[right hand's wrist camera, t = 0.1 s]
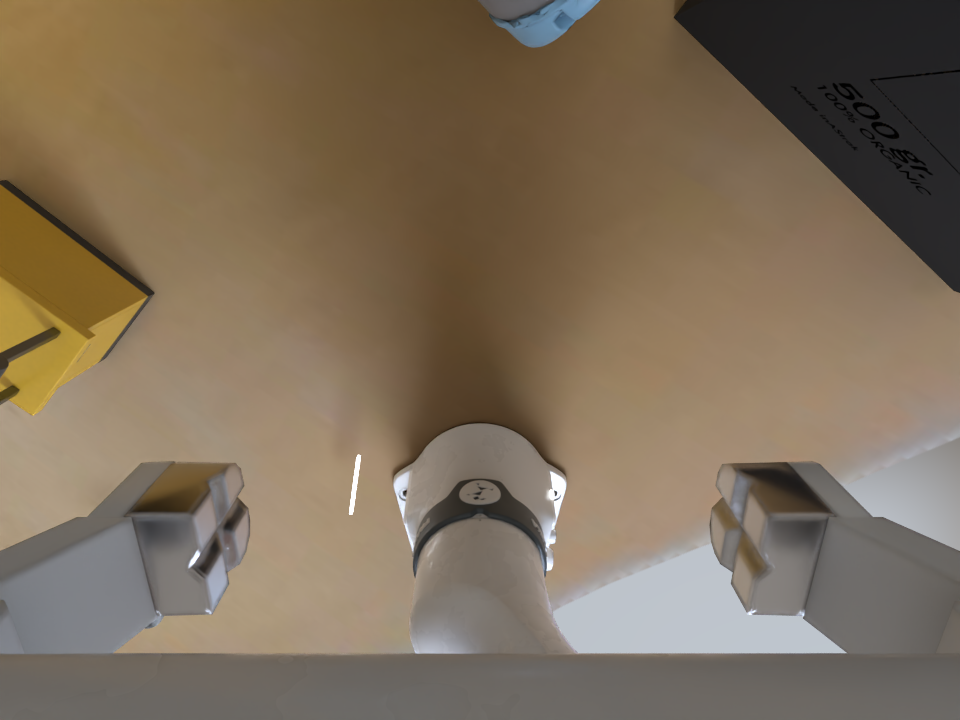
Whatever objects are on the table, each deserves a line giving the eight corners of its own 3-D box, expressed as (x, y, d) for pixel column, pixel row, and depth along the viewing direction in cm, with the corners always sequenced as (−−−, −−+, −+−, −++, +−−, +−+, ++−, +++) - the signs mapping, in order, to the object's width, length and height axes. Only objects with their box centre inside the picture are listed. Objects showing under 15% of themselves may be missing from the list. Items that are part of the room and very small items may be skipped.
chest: (154, 293, 58) (88, 328, 49) (105, 358, 61) (33, 404, 51) (6, 180, 55) (-99, 193, 45) (-40, 254, 57) (-149, 283, 47)
